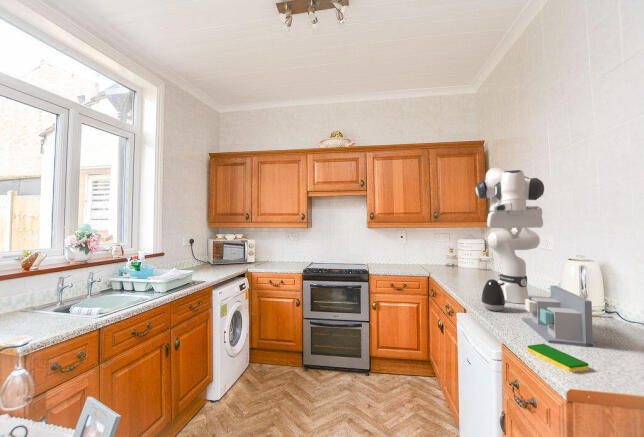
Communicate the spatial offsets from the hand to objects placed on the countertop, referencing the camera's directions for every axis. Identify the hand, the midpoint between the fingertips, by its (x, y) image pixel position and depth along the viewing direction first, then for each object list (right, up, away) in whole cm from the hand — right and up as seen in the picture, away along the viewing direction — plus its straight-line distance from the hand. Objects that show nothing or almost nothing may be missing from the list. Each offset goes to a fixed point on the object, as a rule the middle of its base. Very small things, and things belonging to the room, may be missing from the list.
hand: (514, 238), depth 119 cm
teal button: (+5, -31, -16) cm, 35 cm away
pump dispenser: (+2, -38, +18) cm, 42 cm away
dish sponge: (-9, -38, -31) cm, 50 cm away
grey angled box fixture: (+9, -37, -10) cm, 39 cm away
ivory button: (+9, -31, -2) cm, 32 cm away
